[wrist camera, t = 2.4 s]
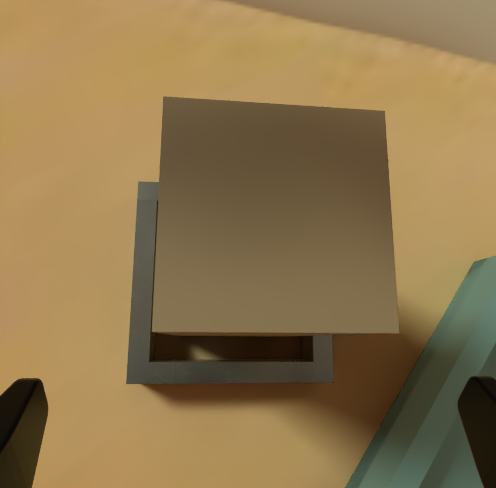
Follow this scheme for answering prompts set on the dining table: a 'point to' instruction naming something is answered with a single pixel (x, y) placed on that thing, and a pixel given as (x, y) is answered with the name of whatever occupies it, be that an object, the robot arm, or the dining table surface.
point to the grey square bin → (200, 371)
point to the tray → (438, 398)
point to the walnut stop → (273, 221)
